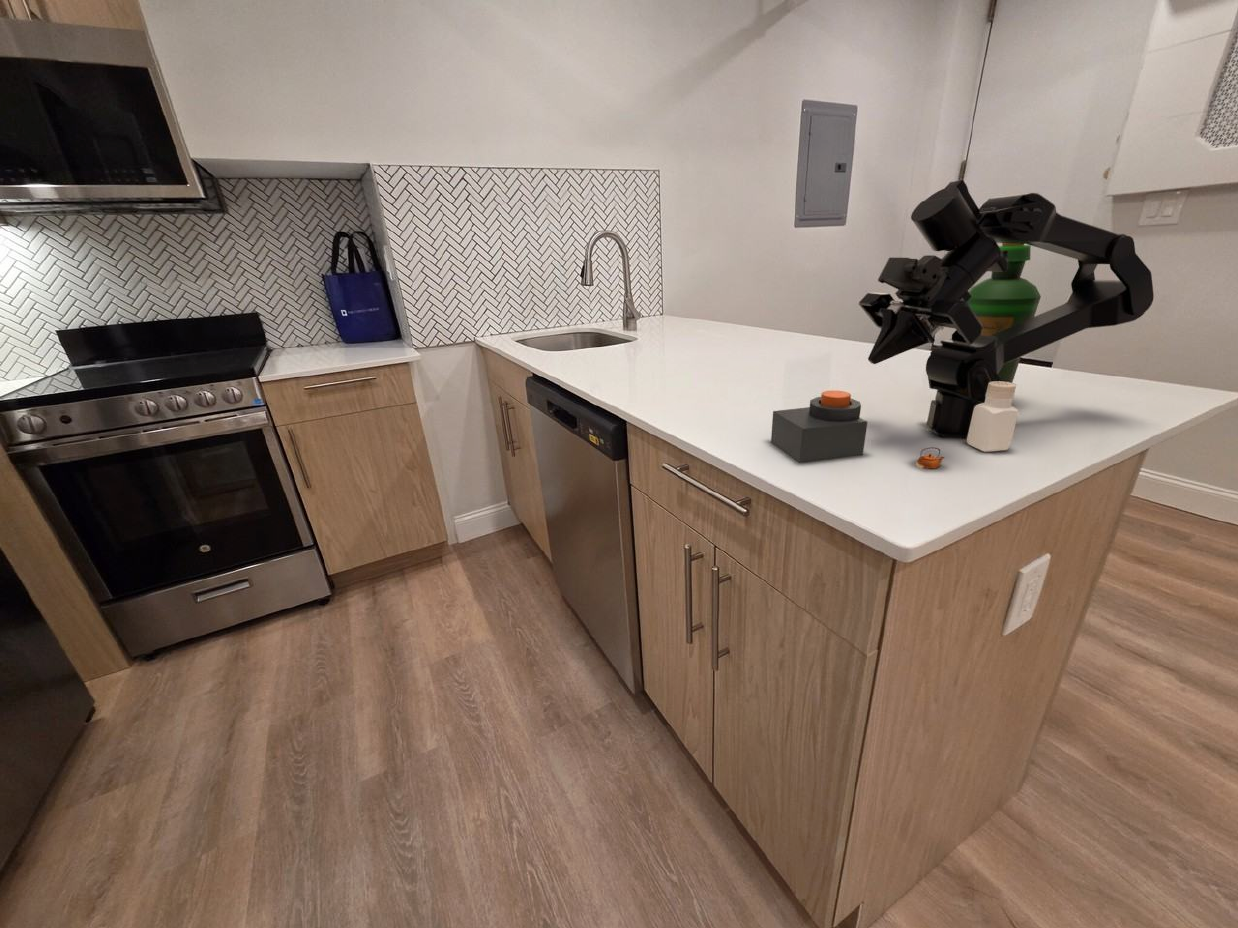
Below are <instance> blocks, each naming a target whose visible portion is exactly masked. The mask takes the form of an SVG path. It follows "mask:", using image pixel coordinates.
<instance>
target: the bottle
mask: <svg viewBox="0 0 1238 928" xmlns="http://www.w3.org/2000/svg"><path fill="white" fill-rule="evenodd" d="M998 246H999V245H998ZM1031 247H1032V246H1031V245H1028V244H1020V243H1001V246H999V248H1000V249H1001V251H1008V255H1007V260H1008V269H1007V271H1005V272H991V275H990V277H989V278H986V279H983V280H982V281H980V282H978V283H977V284H974V285H973V286H972V287H971V288H970V289H969V290H968V292H969V294H970V295H971V298H970V299H969V300H968V301H967V303H968V304H969V305H970V307H971V308H972V310H973V311H974V313H975V314H976V316H977V317H978V319H979V320H980V321H981V323H982V324H983V326H982V331H981V334H982V335H988V336H991V335H993V334H995V333H998V332H1000V331H1002V330H1005V329H1007V328H1009V327H1012V326H1014V325H1016V324H1019V323H1021V322H1023V321H1026V320H1028V319H1030V318H1033V317H1035V316H1036V313H1037V310H1038V306H1039V303H1040V301H1041V298H1042V296H1041V294H1040V292H1039V290H1038V288H1037V286H1036V285H1035V284H1033V283H1032V282H1030V281H1029V280H1027V279H1026V278H1024V277H1021V276H1022V273H1023V271H1024V268H1025V265H1026V262H1027V261H1031V252H1032V251H1031ZM1021 358H1022V357H1019V358H1017V359H1015V360H1012V361H1010V362H1008V363H1005V364H1004V365H1003V367H1002V368H1001V370H1000V372H999V373H998V375H999V377H1000V378H1001V380H1002V381H1003V382H1010V383H1014V379H1015V376H1016V373H1017V370H1018V367H1019V364H1020V361H1021Z"/></svg>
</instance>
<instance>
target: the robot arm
mask: <svg viewBox="0 0 1238 928" xmlns="http://www.w3.org/2000/svg"><path fill="white" fill-rule="evenodd" d="M910 219H911V221H912V223H913V224H914V225H915V227H916V228H917V230H918V232H919V233H920V234H921V236H922V237H923V239H924V240H925V242H926V243H927V245H928V246H929V248H930V249H931V250H932V251H933V252H943V251H944V252H946V253H944V255H943V256H942V257H941V258H940V257H938V256H937V255H931V254H930V255H922V257H921V258H919V259H917V258H911V257H888V259H887V261H886V263H885V265H884V266H883V269H882V271H881V272H880V274H879V276H878V278H877V281H878V282H879V283H881V284H886V285H888V286H891V287H892V288H895V289H896V290H897V291H896V292H895V293H894V294H895V295H896V297H897V298H898V300H895V299H894V298H893V296H892V295H891V294H890V293H888V292H887V293H885V292H877V291H876V292H875V291H874V292H867V293H866V294H865V295H864V296H863V298H861V300H860V301H858V306H859V307H860V308H861V309H862V311H864V313H866V315H867V316H868V318H869V319H870V320H871V322H873V324H874V325H875V326H876V327H877V328H879V329H880V332H879V334H878V336H877V338H876V341H875V342H874V345H873V347H872V349H871V351H870V353H869V354H868V357H867V360H868V362H869V363H870V364H873V365H878V364H879V363H882V362H884V361H887V360H888V359H890V358H893V357H895V356H899V355H900V354H903V353H905V352H908V351H911V350H913V349H915V348H918V347H921V346H924V345H928V344H933V343H934V342H935V341H936V339H935V337H934V336H935V335H936V334H937V333H938V332H939V331H943V330H944V328H949V329H955V331H954V332H953V333H952V334H951V338H950V339H946V340H945V339H943V340H940V345H938V346H936V347H935V348H933V349H932V350H931V351H930V355H929V356H928V358H927V360H926V363H925V373H926V376H927V379H928V380H927V381H928V387H929V389H931V390H936V393H935V398H934V399H932V400H931V401H930V406H929V411H928V415H927V421H926V425H927V426H928V427H929V428H930V430H931V431H932V432H933V433H934V434H935V435H936V436H937V437H944V438H945V437H949V438H950V437H951V438H967V437H968V432H969V428H970V424H971V419H972V415H973V411H974V407H975V406H976V405H978V404H981V403H985V398H986V396H985V395H986V392H987V387H988V384H989V382H993V381H1002V380H1001V378H1000V377H999V375H998V373H999V372H1000V370H1001V368H1002V367H1003V365H1004V364H1005V363H1008V362H1010V361H1012V360H1015V359H1017V358H1019V357H1021V358H1022V357H1023V356H1026V355H1028V354H1031V353H1033V352H1036V351H1038V350H1041V349H1042V348H1045V347H1047V346H1049V345H1052V344H1054V343H1056V342H1059V341H1061V340H1063V339H1065V338H1068V337H1070V336H1072V335H1075V334H1078V333H1080V332H1082V331H1083V330H1087V329H1092V328H1104V327H1116V326H1119V325H1123V324H1127V323H1131V322H1134V321H1136V320H1139V319H1140V318H1141V317H1142V316H1143V315H1144V314H1145V313H1146V312H1147V311H1148V310H1149V309H1150V308H1151V306H1152V305H1153V302H1154V296H1155V295H1154V286H1153V285H1154V284H1153V277H1152V271H1151V270H1150V269H1149V267H1148V266H1147V264H1145V263H1144V262H1143V260H1142V259H1141V258H1140V256H1138V254H1137V253H1136V246H1135V241H1134V238H1133V237H1132V236H1130V235H1127V234H1125V233H1115V232H1113V231H1110V230H1106V229H1104V228H1101V227H1098V226H1094V225H1091V224H1088V223H1085V222H1082V221H1079V220H1076V219H1075V218H1074V219H1073V218H1070V217H1067V216H1064V215H1061V213H1059V212H1057V208H1056V204H1055V203H1053V202H1052V201H1050V200H1049V199H1048V198H1046V197H1044V196H1043V195H1041V194H1040V193H1038V192H1029V193H1028V192H1027V193H1021V194H1013V195H1011V194H1010V195H1004V196H995V197H990V198H988V199H987V200H986V201H985V202H983V203H982V205H981V206H980V207H978V205H977V203H976V202H975V200H974V199H973V196H972V195H971V194H970V191H969V187H968V186H967V184H966V182H965V181H964V179H960V180H955V181H950V182H949V183H948V184H947V185H946V186H945V187H944V188H942V189H939V190H938V191H936V192H935V193H932V194H931V195H930V196H928V197H927V198H926V199H924V200H922V201H921V202H920V203H919V204H917V206H915V208H914V209H913V211H912V212H911V215H910ZM1002 243H1020V244H1024V245H1031V247H1035V248H1038V249H1042V250H1045V251H1048V252H1051V253H1053V254H1054V253H1055V254H1058V255H1061V256H1064V257H1067V258H1071V259H1075V260H1077V263H1078V268H1077V270H1076V272H1075V274H1074V276H1073V278H1072V281H1071V284H1070V286H1071V291H1072V292H1071V293H1070V294H1069V296H1068V298H1067V299H1066V301H1065V303H1063V304H1061V305H1058V306H1056V307H1054V308H1052V309H1049V310H1047V311H1045V312H1042V313H1040V314H1038V315H1035V316H1034V317H1033V318H1030V319H1028V320H1026V321H1023V322H1021V323H1019V324H1016V325H1014V326H1012V327H1009V328H1007V329H1005V330H1002V331H1000V332H998V333H995V334H993V335H991V336H988V335H982V334H981V331H982V326H983V324H982V323H981V321H980V320H979V319H978V317H977V316H976V314H975V313H974V311H973V310H972V308H971V307H970V305H969V304H968V303H967V301H968V300H969V299H970V298H971V295H970V294H969V292H968V291H969V290H970V289H971V288H972V287H973V286H975V285H976V283H977V282H979V280H980V279H981V278H982V277H984V275H985V274H986V273H987V272H991V273H992V272H1005V271H1007V269H1008V260H1007V255H1008V251H1001V249H1000V248H999V244H1002ZM1098 265H1109V268H1110V270H1111V271H1112V273H1113V274H1114V275H1115V276H1116V277H1117V280H1115V279H1096V276H1095V270H1096V268H1097V267H1098ZM899 300H901V301H899Z"/></svg>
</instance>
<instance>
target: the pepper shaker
mask: <svg viewBox="0 0 1238 928" xmlns="http://www.w3.org/2000/svg"><path fill="white" fill-rule="evenodd" d="M1016 388H1017V384H1016V383H1014V382H1012V383H1010V382H1003V381H993V382H989V384H988V387H987V392H986V395H985V396H986V398H985V403H981V404H978V405H976V406H975V407H974V411H973V415H972V419H971V424H970V428H969V432H968V437H966V443H967V445H969V446H971V447H974V448H975V449H978V450H980V451H982V452H985V453H986V452H998V451H1007V450H1009V448H1010V446H1011V443H1012V438H1013V436H1014V432H1015V427H1016V424H1017V420H1018V416H1019V409H1017V408H1016V407H1015V406H1013V405H1012V402H1013V399H1014V397H1015V393H1016Z"/></svg>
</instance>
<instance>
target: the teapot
mask: <svg viewBox="0 0 1238 928" xmlns="http://www.w3.org/2000/svg"><path fill="white" fill-rule="evenodd" d="M929 449H935V450H937V451H938V455H937V456H936V455H932V454H931V453H929V454H924V455H922V453H923V452H924V451H925V450H929ZM919 455H920V457H919V458H918V459H917V460H916V463H915V464H916V466H917V467H918V468H920V469H924V470H934V469H937V468H939V467H940V465H941V463H942V461H943V460H944V459H945V457H944V456H940V455H941V449H940V448H939V447H933V446H932V447H926V448H923V449H922V450H921V451H920V454H919Z"/></svg>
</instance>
